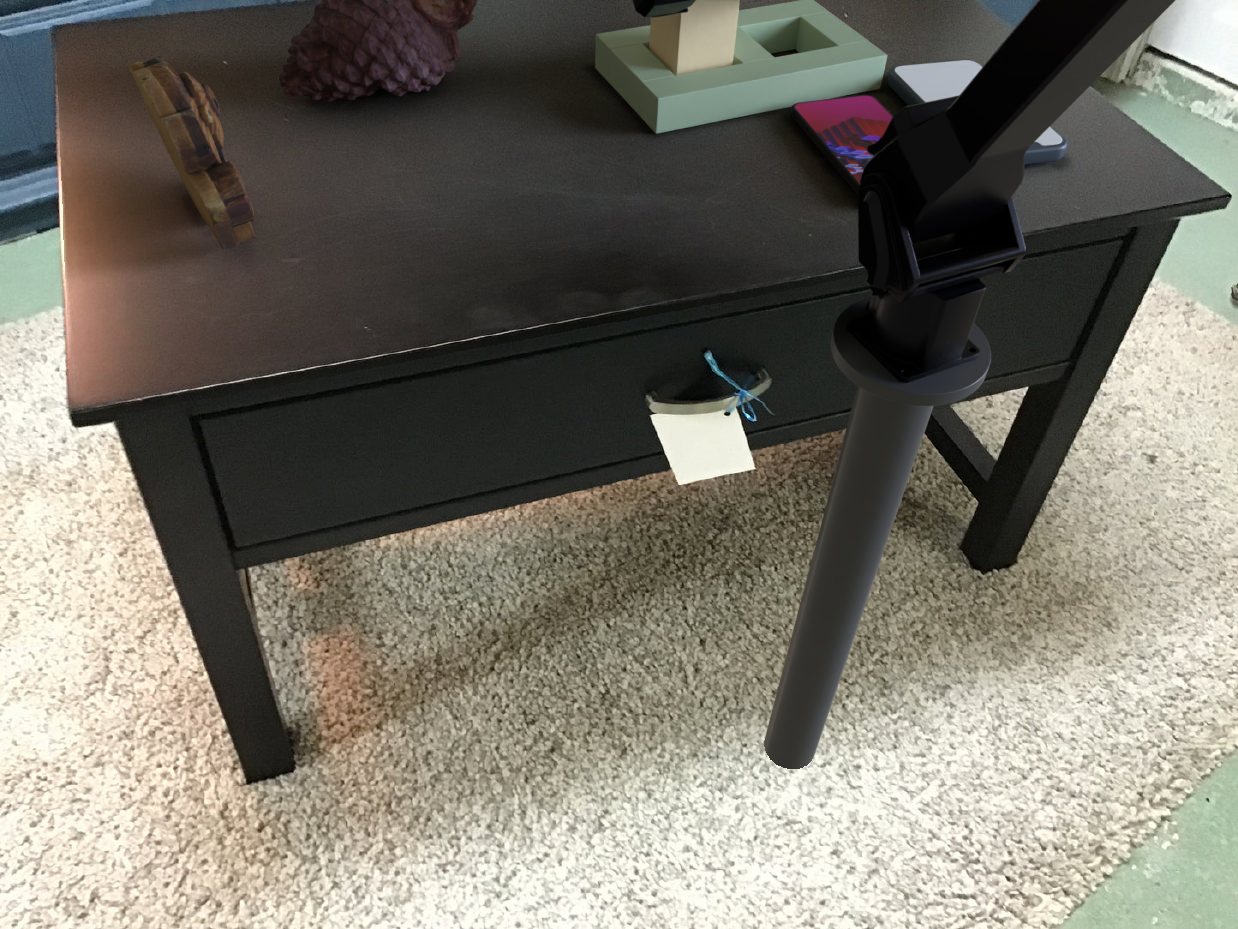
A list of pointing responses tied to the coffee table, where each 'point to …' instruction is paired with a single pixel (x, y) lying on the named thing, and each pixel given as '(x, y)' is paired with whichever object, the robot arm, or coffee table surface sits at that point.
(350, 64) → the pine cone
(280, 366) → the coffee table surface
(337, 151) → the coffee table surface
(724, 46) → the cream rectangular block
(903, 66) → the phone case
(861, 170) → the smartphone
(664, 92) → the block
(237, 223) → the wooden carving
